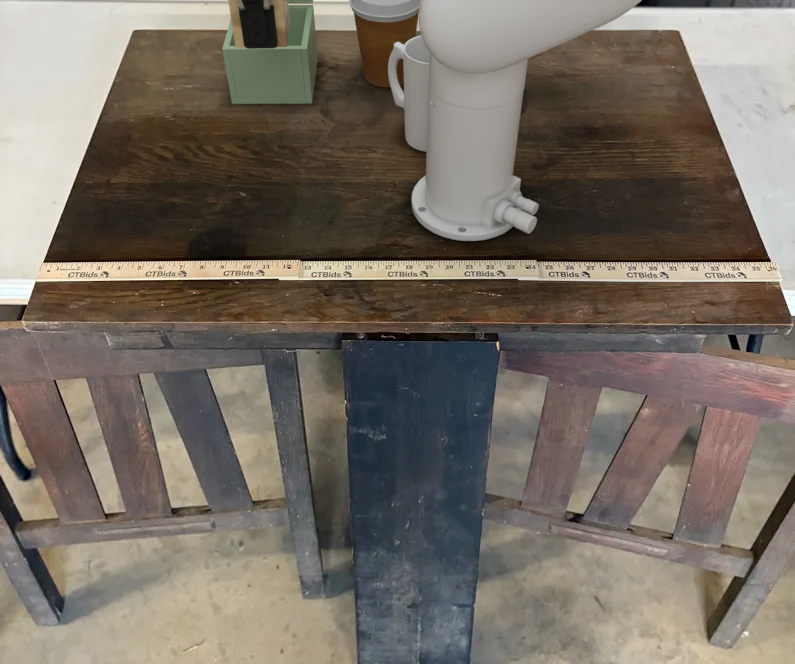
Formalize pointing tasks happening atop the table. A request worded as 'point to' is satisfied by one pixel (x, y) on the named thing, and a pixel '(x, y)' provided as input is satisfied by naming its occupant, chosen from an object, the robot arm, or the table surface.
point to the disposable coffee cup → (383, 34)
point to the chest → (275, 65)
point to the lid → (299, 1)
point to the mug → (412, 88)
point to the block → (280, 18)
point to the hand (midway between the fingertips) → (263, 30)
